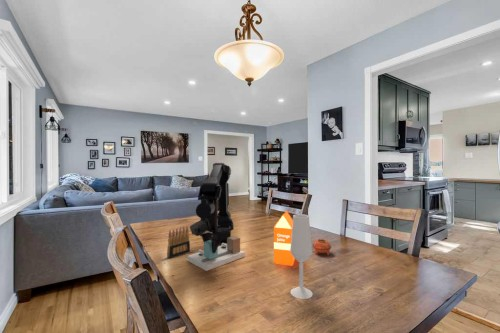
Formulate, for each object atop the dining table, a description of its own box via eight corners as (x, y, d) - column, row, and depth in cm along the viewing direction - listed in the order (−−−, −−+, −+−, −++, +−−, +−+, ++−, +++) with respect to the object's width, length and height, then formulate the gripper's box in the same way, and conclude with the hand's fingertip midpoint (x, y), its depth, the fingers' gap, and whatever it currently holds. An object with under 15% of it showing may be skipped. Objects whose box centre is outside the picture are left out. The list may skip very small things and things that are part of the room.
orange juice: (296, 257, 102) (295, 211, 102) (292, 265, 94) (292, 215, 94) (278, 255, 104) (277, 210, 104) (273, 263, 96) (273, 214, 96)
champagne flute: (288, 287, 77) (287, 213, 77) (308, 286, 77) (308, 213, 77) (293, 299, 70) (293, 218, 70) (315, 298, 70) (315, 217, 70)
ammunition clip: (169, 258, 102) (169, 230, 102) (167, 257, 103) (166, 230, 103) (190, 251, 110) (189, 225, 110) (187, 250, 111) (187, 225, 111)
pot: (334, 252, 107) (333, 238, 106) (327, 261, 102) (326, 247, 101) (318, 247, 113) (317, 234, 111) (310, 255, 107) (309, 242, 106)
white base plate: (224, 248, 113) (224, 232, 113) (244, 256, 103) (244, 238, 103) (187, 260, 99) (187, 241, 99) (206, 271, 89) (206, 249, 89)
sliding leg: (203, 251, 103) (203, 236, 103) (217, 257, 95) (217, 241, 95) (195, 254, 100) (195, 238, 100) (209, 260, 93) (209, 243, 93)
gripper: (180, 212, 96) (181, 251, 96) (207, 220, 83) (207, 264, 83) (203, 209, 104) (204, 244, 104) (231, 215, 91) (231, 255, 91)
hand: (210, 251), depth 96 cm, fingers closed on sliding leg, 4 cm apart
